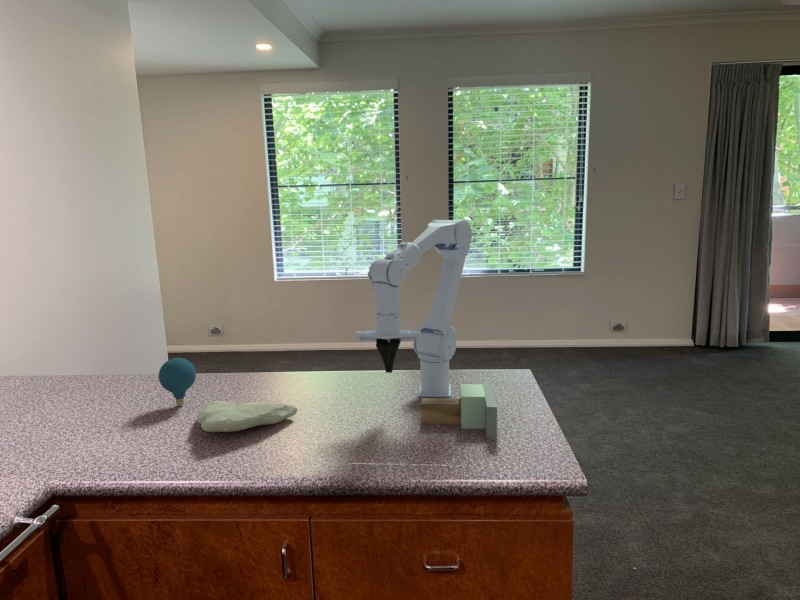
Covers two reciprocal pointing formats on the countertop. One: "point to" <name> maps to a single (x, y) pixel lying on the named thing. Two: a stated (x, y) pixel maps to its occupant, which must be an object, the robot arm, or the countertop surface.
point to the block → (472, 406)
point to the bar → (441, 410)
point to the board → (490, 411)
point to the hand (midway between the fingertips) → (389, 371)
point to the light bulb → (177, 377)
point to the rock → (242, 415)
